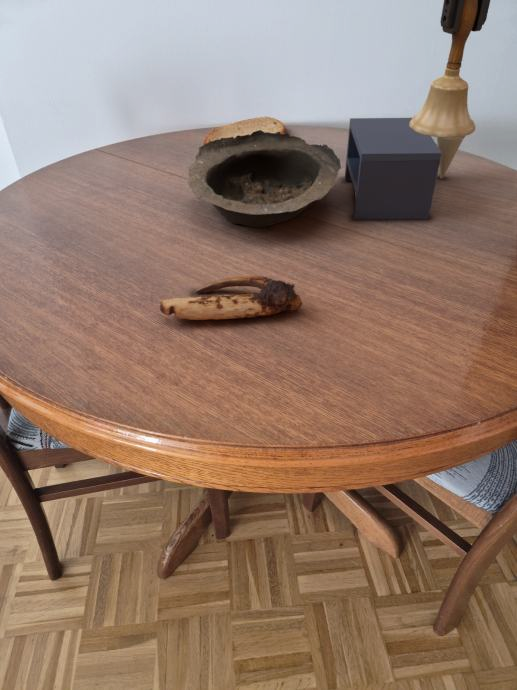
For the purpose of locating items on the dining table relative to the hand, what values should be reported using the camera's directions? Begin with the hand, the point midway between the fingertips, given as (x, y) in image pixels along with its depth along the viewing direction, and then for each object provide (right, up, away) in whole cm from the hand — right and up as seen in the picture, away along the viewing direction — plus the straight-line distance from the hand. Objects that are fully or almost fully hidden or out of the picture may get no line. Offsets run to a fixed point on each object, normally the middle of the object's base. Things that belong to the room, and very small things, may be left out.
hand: (461, 30), depth 63 cm
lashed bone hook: (-27, -32, +8) cm, 43 cm away
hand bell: (0, -9, +7) cm, 11 cm away
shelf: (-2, -11, +32) cm, 34 cm away
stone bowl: (-23, -14, +29) cm, 40 cm away
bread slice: (-26, +7, +53) cm, 59 cm away
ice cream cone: (+10, -6, +38) cm, 39 cm away
